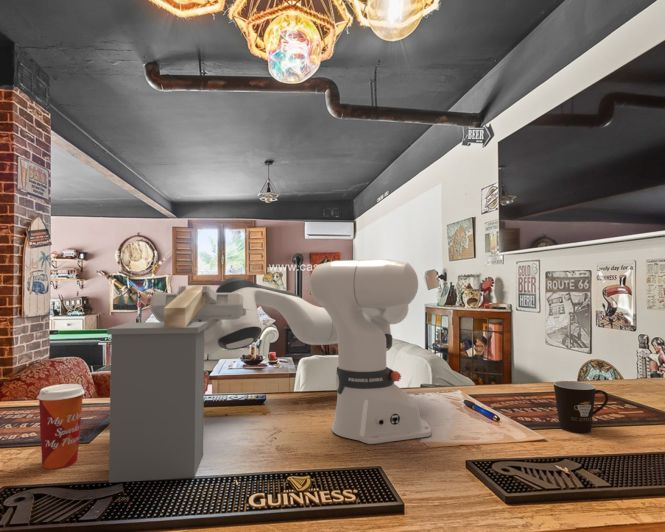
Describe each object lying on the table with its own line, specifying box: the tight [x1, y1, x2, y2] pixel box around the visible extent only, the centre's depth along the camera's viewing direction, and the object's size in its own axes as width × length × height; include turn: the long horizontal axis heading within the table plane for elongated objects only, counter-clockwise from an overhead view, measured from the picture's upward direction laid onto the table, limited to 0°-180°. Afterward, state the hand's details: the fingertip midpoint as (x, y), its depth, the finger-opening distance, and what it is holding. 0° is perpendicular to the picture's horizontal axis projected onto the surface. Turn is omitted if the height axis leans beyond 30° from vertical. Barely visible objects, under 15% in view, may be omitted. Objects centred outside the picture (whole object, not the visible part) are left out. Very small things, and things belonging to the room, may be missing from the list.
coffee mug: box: [553, 380, 609, 434], centre depth 101 cm, size 12×9×10 cm
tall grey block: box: [106, 321, 207, 483], centre depth 81 cm, size 15×11×26 cm
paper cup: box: [36, 383, 86, 470], centre depth 83 cm, size 8×8×14 cm
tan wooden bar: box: [164, 285, 206, 328], centre depth 87 cm, size 4×23×4 cm, turn 8°
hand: (193, 289), depth 94 cm, fingers closed on tan wooden bar, 3 cm apart
